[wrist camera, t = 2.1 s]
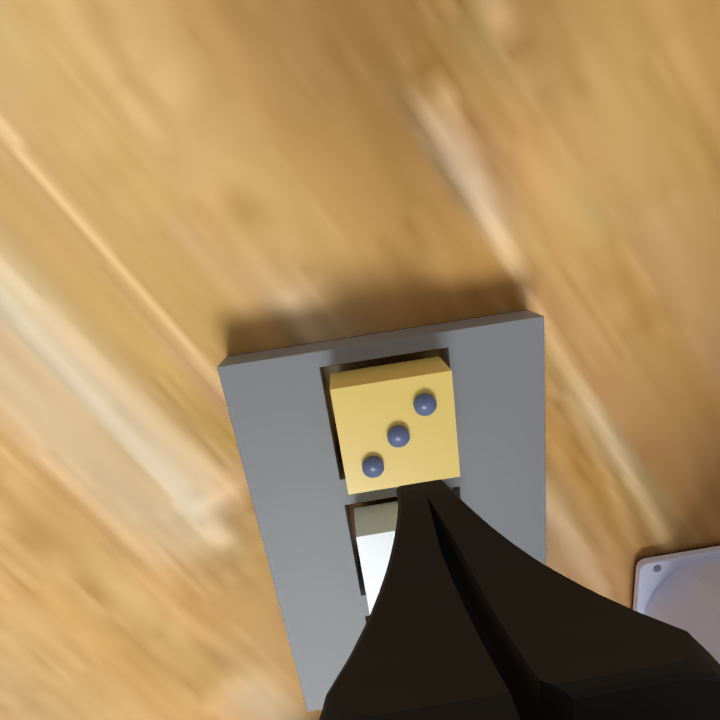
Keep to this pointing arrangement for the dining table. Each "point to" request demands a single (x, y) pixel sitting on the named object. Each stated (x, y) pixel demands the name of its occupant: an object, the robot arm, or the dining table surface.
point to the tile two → (375, 544)
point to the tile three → (396, 424)
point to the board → (330, 494)
